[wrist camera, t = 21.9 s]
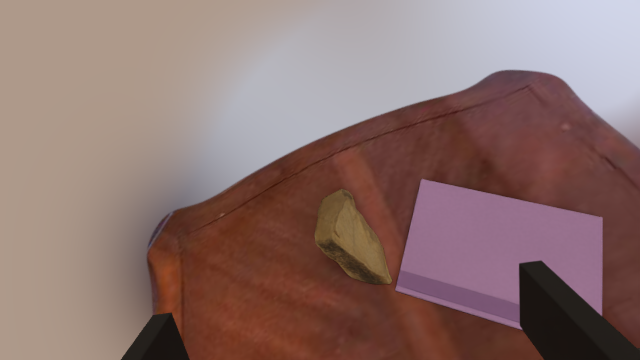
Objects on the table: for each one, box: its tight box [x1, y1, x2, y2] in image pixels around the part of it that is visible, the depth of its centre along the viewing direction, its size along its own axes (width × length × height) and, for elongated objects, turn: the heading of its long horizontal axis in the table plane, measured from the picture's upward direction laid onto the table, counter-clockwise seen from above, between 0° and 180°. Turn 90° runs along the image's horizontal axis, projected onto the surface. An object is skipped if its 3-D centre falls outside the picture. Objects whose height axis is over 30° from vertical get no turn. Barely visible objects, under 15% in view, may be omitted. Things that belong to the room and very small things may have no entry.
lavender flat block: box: [395, 179, 602, 330], centre depth 35 cm, size 18×13×1 cm
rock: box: [315, 189, 392, 284], centre depth 36 cm, size 11×9×10 cm
